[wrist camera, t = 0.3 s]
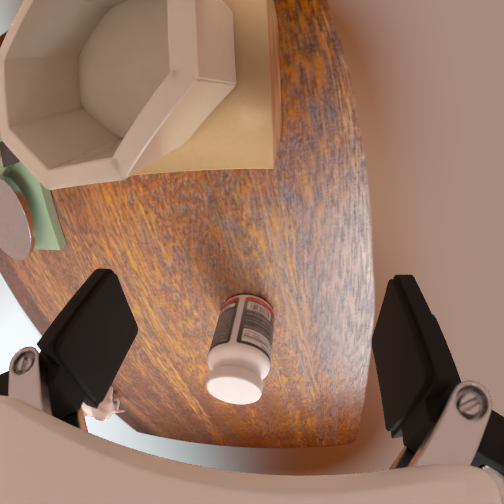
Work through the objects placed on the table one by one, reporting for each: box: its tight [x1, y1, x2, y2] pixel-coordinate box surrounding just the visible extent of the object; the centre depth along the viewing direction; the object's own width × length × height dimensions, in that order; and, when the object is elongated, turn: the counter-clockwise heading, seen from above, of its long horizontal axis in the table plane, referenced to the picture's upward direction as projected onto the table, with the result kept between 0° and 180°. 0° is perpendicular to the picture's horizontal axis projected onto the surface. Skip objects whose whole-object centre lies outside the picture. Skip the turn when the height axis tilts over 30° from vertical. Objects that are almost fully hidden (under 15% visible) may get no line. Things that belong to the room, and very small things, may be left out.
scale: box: [0, 135, 67, 250], centre depth 24 cm, size 17×13×3 cm
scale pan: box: [0, 141, 36, 260], centre depth 23 cm, size 14×12×1 cm
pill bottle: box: [207, 295, 274, 404], centre depth 26 cm, size 6×6×10 cm
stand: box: [131, 0, 282, 176], centre depth 13 cm, size 9×9×12 cm
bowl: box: [0, 0, 236, 190], centre depth 6 cm, size 7×7×4 cm
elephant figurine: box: [82, 386, 124, 421], centre depth 43 cm, size 10×12×9 cm
